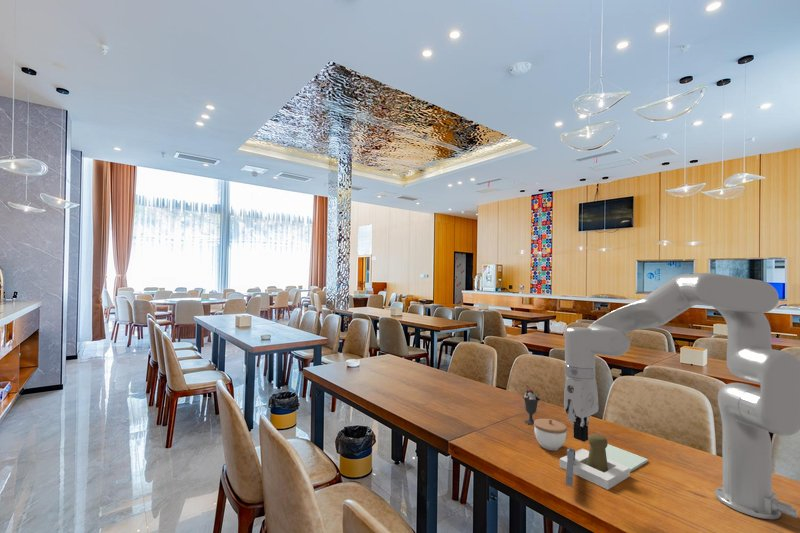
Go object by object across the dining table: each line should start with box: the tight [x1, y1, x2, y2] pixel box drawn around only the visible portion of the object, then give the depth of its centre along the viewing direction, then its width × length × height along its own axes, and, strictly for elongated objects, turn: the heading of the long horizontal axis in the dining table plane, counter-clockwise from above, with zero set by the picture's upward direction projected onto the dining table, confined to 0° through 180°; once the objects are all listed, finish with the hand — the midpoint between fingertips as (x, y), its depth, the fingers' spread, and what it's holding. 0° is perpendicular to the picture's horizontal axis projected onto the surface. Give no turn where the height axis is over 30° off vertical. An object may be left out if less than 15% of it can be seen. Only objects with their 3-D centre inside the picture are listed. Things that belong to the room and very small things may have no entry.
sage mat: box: [605, 443, 649, 473], centre depth 119 cm, size 13×13×1 cm
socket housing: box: [558, 448, 631, 491], centre depth 110 cm, size 14×14×3 cm
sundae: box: [522, 385, 541, 425], centre depth 148 cm, size 7×7×15 cm
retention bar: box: [565, 447, 576, 488], centre depth 105 cm, size 19×2×2 cm, turn 153°
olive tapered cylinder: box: [587, 433, 609, 473], centre depth 110 cm, size 6×6×11 cm
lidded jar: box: [533, 418, 568, 451], centre depth 127 cm, size 11×11×9 cm
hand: (580, 439), depth 99 cm, fingers closed
